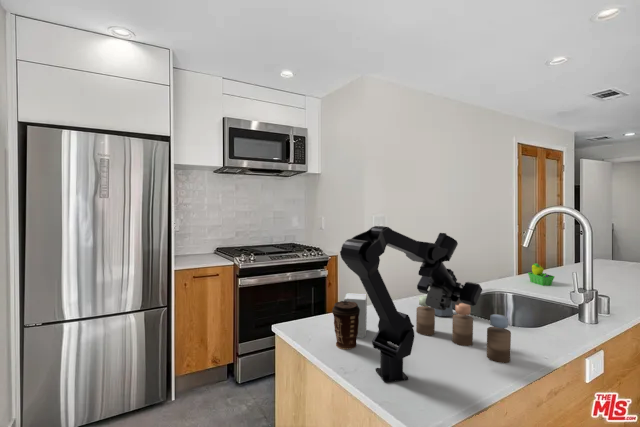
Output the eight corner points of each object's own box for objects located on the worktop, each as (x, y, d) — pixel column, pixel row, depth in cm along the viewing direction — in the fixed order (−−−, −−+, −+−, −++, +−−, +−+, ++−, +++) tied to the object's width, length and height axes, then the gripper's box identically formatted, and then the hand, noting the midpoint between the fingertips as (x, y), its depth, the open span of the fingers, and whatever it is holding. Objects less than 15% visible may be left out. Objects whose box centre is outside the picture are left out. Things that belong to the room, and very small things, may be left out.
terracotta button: (473, 314, 106) (473, 306, 106) (461, 315, 105) (461, 307, 105) (464, 310, 110) (464, 302, 110) (452, 310, 109) (452, 303, 109)
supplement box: (365, 338, 111) (365, 299, 111) (343, 336, 113) (343, 298, 112) (367, 329, 118) (367, 293, 118) (346, 328, 120) (346, 292, 120)
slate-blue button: (511, 327, 95) (511, 319, 95) (497, 328, 94) (498, 320, 94) (499, 322, 99) (500, 314, 99) (486, 323, 98) (487, 315, 98)
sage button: (435, 306, 114) (435, 299, 114) (423, 307, 113) (423, 299, 113) (428, 302, 119) (428, 295, 119) (416, 303, 118) (416, 296, 118)
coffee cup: (343, 337, 112) (343, 298, 111) (365, 344, 106) (365, 303, 106) (327, 346, 105) (327, 304, 104) (349, 354, 100) (349, 310, 99)
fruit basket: (555, 285, 181) (556, 264, 180) (540, 286, 180) (541, 265, 179) (538, 281, 192) (539, 261, 192) (524, 281, 191) (525, 261, 190)
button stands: (517, 356, 98) (518, 329, 98) (504, 365, 93) (505, 336, 93) (427, 326, 122) (427, 304, 122) (412, 331, 117) (412, 308, 117)
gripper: (399, 289, 103) (421, 317, 110) (456, 304, 88) (477, 335, 95) (415, 260, 107) (435, 289, 114) (472, 270, 92) (491, 302, 100)
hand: (457, 303), depth 106 cm, fingers closed
